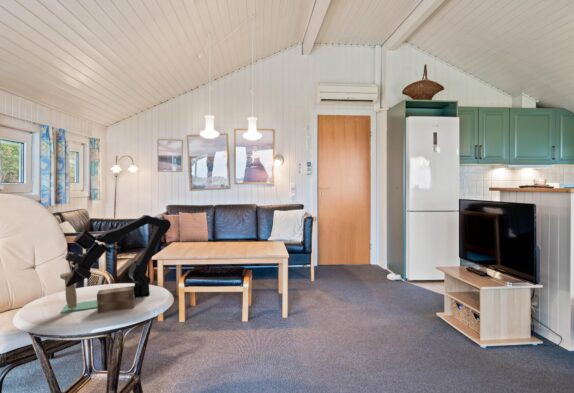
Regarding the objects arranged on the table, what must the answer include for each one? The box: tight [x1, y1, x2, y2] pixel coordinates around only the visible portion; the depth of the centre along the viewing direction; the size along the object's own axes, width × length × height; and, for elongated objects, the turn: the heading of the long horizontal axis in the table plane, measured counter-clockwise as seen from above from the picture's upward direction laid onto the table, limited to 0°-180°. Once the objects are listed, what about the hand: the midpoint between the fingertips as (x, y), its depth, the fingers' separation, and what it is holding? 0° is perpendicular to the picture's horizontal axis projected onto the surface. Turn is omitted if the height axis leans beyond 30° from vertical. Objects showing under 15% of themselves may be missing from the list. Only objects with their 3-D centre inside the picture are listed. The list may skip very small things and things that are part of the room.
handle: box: [59, 271, 78, 309], centre depth 151 cm, size 5×6×15 cm
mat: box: [60, 299, 98, 314], centre depth 156 cm, size 14×10×1 cm
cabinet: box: [96, 285, 135, 314], centre depth 152 cm, size 14×8×8 cm, turn 111°
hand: (66, 285), depth 150 cm, fingers closed on handle, 5 cm apart
